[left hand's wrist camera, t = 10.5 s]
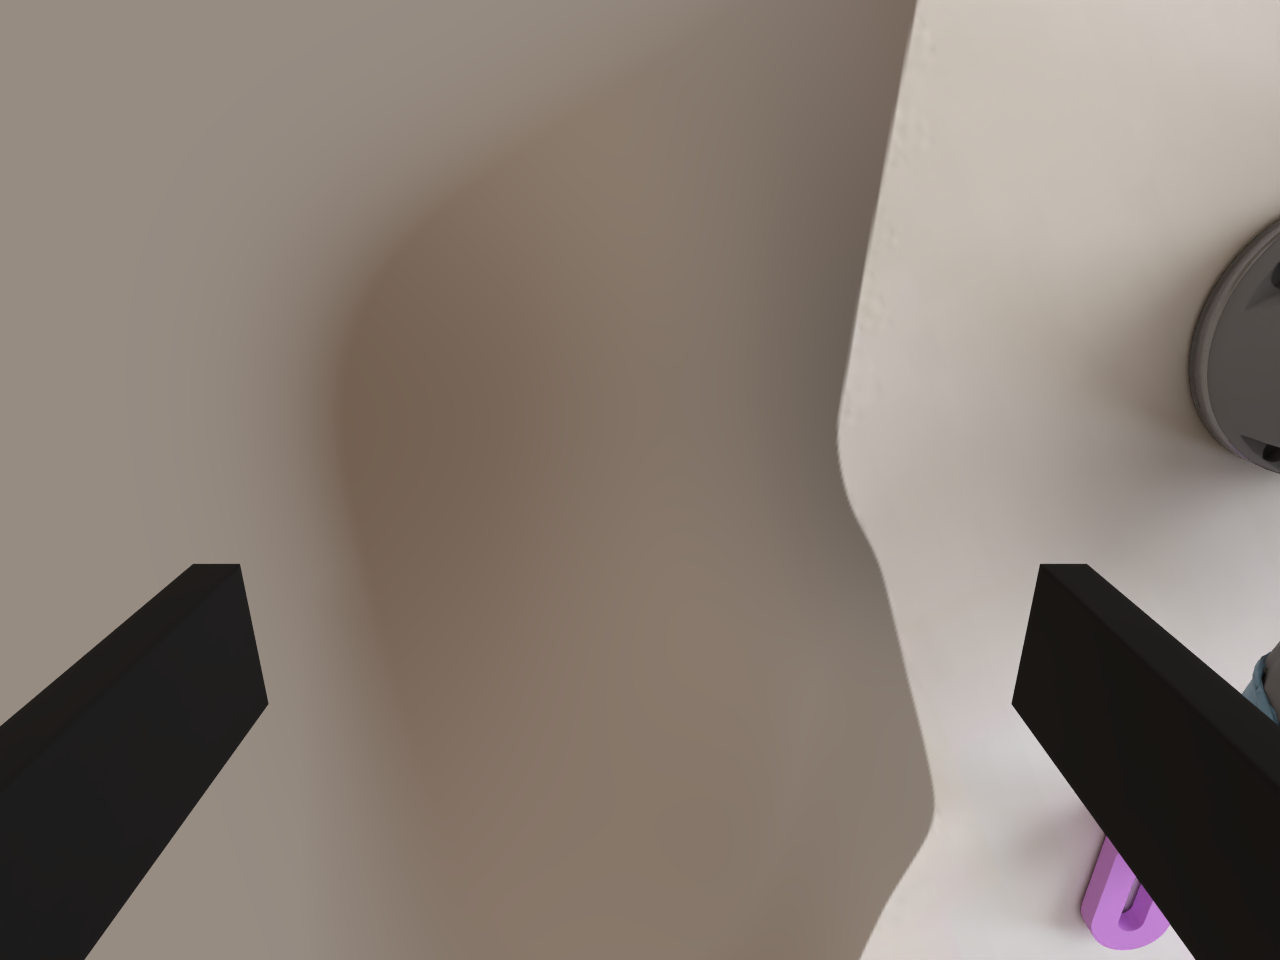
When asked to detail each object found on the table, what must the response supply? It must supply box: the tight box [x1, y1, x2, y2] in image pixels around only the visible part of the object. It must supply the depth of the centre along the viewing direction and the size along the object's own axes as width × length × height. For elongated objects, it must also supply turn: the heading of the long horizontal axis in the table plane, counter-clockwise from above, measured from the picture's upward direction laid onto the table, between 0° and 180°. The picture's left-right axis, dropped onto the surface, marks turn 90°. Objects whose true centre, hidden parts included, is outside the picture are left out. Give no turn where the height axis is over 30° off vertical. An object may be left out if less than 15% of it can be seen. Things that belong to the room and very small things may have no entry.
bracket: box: [1081, 836, 1170, 950], centre depth 52 cm, size 13×6×7 cm, turn 176°
